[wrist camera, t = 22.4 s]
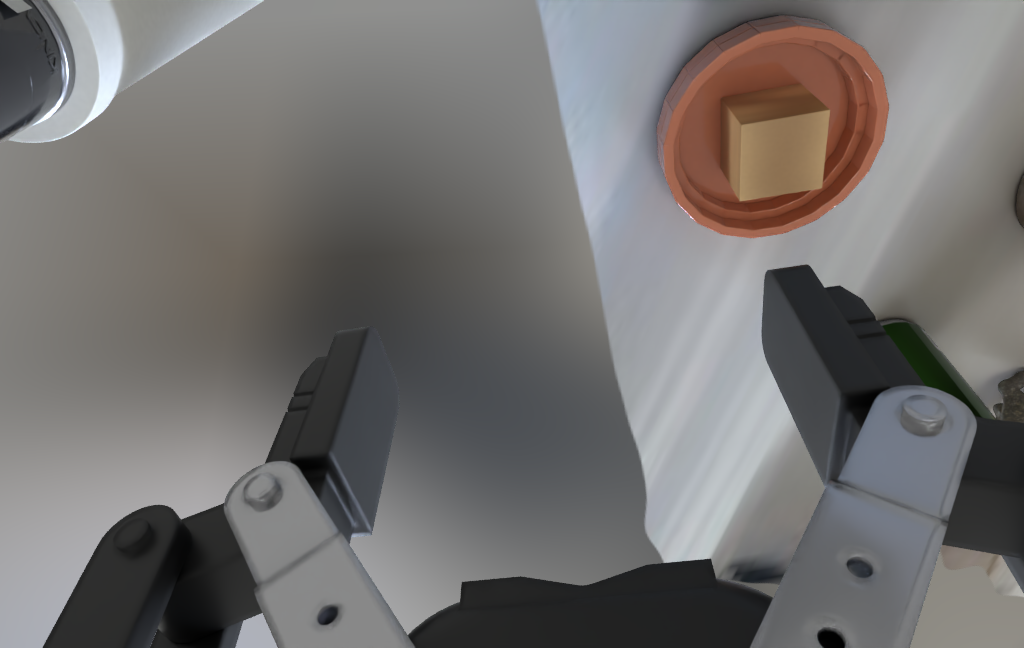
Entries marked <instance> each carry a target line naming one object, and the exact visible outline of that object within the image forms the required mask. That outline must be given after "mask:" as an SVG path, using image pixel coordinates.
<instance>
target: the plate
mask: <svg viewBox="0 0 1024 648" xmlns="http://www.w3.org/2000/svg"><path fill="white" fill-rule="evenodd" d="M800 83H801V84H802V85H803V86H804V87H805V88H807V89H808V90H809V91H810V92H811V93H812V94H813V95H814V96H815V97H817V98H818V99H819V100H820V101H821V102H822V103H823V104H824V105H825V106H827V107H828V108H829V109H830V116H829V126H828V136H827V145H826V155H825V164H824V174H823V184H822V188H821V189H815V190H808V191H802V192H796V193H789V194H783V195H777V196H770V197H764V198H758V199H752V200H745V201H739V199H738V197H737V196H736V194H735V192H734V191H733V189H732V187H731V186H730V184H729V182H728V180H727V179H726V177H725V175H724V174H723V172H722V170H721V98H722V97H727V96H733V95H738V94H744V93H749V92H755V91H761V90H766V89H772V88H777V87H783V86H789V85H794V84H800ZM888 111H889V103H888V98H887V93H886V88H885V83H884V78H883V75H882V73H881V71H880V70H879V68H878V67H877V65H876V64H875V63H874V61H873V60H872V58H871V57H870V55H869V54H868V53H867V51H866V50H865V48H863V47H862V46H861V45H859V44H857V43H856V42H854V41H853V40H851V39H849V38H848V37H846V36H845V35H843V34H841V33H840V32H838V31H836V30H834V29H833V28H831V27H829V26H828V25H826V24H824V23H823V22H821V21H819V20H815V19H808V18H801V17H795V16H788V15H780V16H775V17H770V18H765V19H759V20H754V21H749V22H747V23H744V24H742V25H740V26H738V27H737V28H735V29H733V30H731V31H729V32H727V33H725V34H723V35H721V36H719V37H717V38H715V39H714V40H712V41H711V42H709V43H708V44H707V45H706V46H705V47H704V48H703V49H702V50H701V51H700V52H699V53H698V54H697V55H696V56H694V57H693V58H692V59H691V60H690V61H689V62H688V63H687V64H686V65H685V67H683V69H682V70H681V72H680V74H679V75H678V77H677V79H676V80H675V82H674V83H673V85H672V87H671V88H670V90H669V92H668V93H667V95H666V98H665V99H664V103H663V107H662V111H661V114H660V118H659V122H658V126H657V148H658V160H659V163H660V166H661V168H662V171H663V173H664V175H665V178H666V180H667V182H668V185H669V187H670V189H671V192H672V194H673V196H674V199H675V201H676V202H677V204H678V205H679V206H680V207H681V208H682V209H683V210H684V211H685V212H686V213H687V214H688V215H689V216H690V217H691V218H692V219H693V220H694V221H695V222H697V223H698V224H701V225H703V226H705V227H707V228H709V229H711V230H713V231H716V232H718V233H720V234H723V235H730V236H738V237H746V238H757V237H764V236H771V235H777V234H783V233H786V232H789V231H791V230H794V229H796V228H799V227H801V226H803V225H806V224H808V223H811V222H813V221H815V220H817V219H818V218H820V217H821V216H822V215H824V214H825V213H827V212H828V211H829V210H831V209H832V208H834V207H835V206H836V205H838V204H839V203H840V202H842V201H843V200H844V199H845V198H846V197H847V196H848V195H849V194H850V193H851V192H852V190H853V189H854V188H855V187H856V186H857V185H858V183H859V182H860V181H861V180H862V179H863V178H864V176H865V175H866V174H867V173H868V172H869V170H870V168H871V166H872V164H873V162H874V159H875V157H876V155H877V153H878V151H879V149H880V147H881V145H882V143H883V140H884V136H885V130H886V123H887V117H888Z"/></svg>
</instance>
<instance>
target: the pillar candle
mask: <svg viewBox="0 0 1024 648" xmlns="http://www.w3.org/2000/svg"><path fill="white" fill-rule="evenodd" d="M1016 212H1017V217H1018V220H1019V222H1020V224H1021V225H1022V226H1023V227H1024V175H1023V177H1022V180H1021V182H1020V187H1019V188H1018V193H1017V204H1016Z"/></svg>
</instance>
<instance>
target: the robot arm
mask: <svg viewBox="0 0 1024 648" xmlns="http://www.w3.org/2000/svg"><path fill="white" fill-rule="evenodd" d="M75 75H76V69H75V59H74V54H73V49H72V46H71V43H70V40H69V37H68V35H67V33H66V30H65V28H64V26H63V24H62V22H61V21H60V19H59V17H58V16H57V14H56V12H55V11H54V9H53V8H52V6H51V5H50V4H49V2H48V1H47V0H0V143H2V142H4V141H5V140H7V139H9V138H11V137H13V136H14V135H16V134H18V133H19V132H21V131H23V130H25V129H26V128H28V127H30V126H32V125H35V124H38V123H40V122H42V121H44V120H46V119H47V118H49V117H51V116H52V115H54V114H56V113H57V112H58V111H59V110H61V109H62V107H63V106H64V105H65V104H66V103H67V101H68V100H69V98H70V96H71V94H72V91H73V88H74V83H75ZM762 344H763V350H764V354H765V358H766V360H767V363H768V365H769V367H770V370H771V372H772V374H773V376H774V378H775V380H776V382H777V385H778V387H779V389H780V391H781V393H782V395H783V398H784V400H785V402H786V404H787V406H788V408H789V411H790V413H791V415H792V417H793V419H794V421H795V423H796V426H797V428H798V430H799V432H800V434H801V436H802V439H803V441H804V443H805V445H806V447H807V449H808V452H809V454H810V456H811V458H812V460H813V462H814V464H815V467H816V469H817V471H818V473H819V475H820V477H821V480H822V482H823V484H824V486H825V490H824V492H823V494H822V497H821V499H820V501H819V503H818V505H817V507H816V509H815V511H814V513H813V516H812V518H811V520H810V522H809V524H808V526H807V528H806V530H805V532H804V534H803V537H802V539H801V541H800V543H799V545H798V547H797V549H796V551H795V553H794V555H793V558H792V560H791V562H790V564H789V566H788V568H787V570H786V572H785V574H784V577H783V579H782V581H781V583H780V585H779V587H778V589H777V591H776V593H775V596H774V598H772V597H770V596H768V595H766V594H765V593H763V592H761V591H759V590H756V589H753V588H751V587H748V586H746V585H743V584H739V583H736V582H732V581H728V580H723V579H717V578H716V577H715V573H714V569H713V565H712V561H711V559H703V560H693V561H682V562H671V563H661V564H651V565H645V566H643V567H639V568H637V569H634V570H631V571H628V572H625V573H622V574H619V575H616V576H613V577H611V578H608V579H605V580H602V581H599V582H596V583H593V584H590V585H584V586H579V585H572V584H566V583H559V582H553V581H546V580H540V579H533V578H527V577H511V578H500V579H490V580H479V581H468V582H462V587H461V599H460V602H459V603H456V604H453V605H451V606H449V607H447V608H445V609H443V610H441V611H439V612H437V613H436V614H434V615H432V616H431V617H429V618H428V619H426V620H425V621H424V622H422V623H421V624H420V625H419V626H417V627H416V628H415V629H414V630H413V631H412V632H411V633H410V634H409V635H407V634H406V632H405V631H404V629H403V627H402V626H401V625H400V623H399V621H398V620H397V618H396V617H395V615H394V614H393V612H392V610H391V609H390V607H389V606H388V604H387V603H386V601H385V600H384V598H383V597H382V595H381V593H380V592H379V590H378V589H377V587H376V586H375V584H374V582H373V581H372V579H371V578H370V576H369V575H368V573H367V572H366V570H365V569H364V567H363V565H362V564H361V562H360V561H359V559H358V557H357V556H356V554H355V553H354V551H353V550H352V548H351V547H350V545H349V544H350V540H351V537H358V536H369V535H372V531H373V526H374V521H375V516H376V512H377V507H378V503H379V498H380V494H381V489H382V484H383V480H384V475H385V470H386V466H387V461H388V456H389V452H390V447H391V443H392V438H393V433H394V429H395V424H396V420H397V415H398V410H399V389H398V384H397V381H396V378H395V375H394V373H393V370H392V367H391V365H390V362H389V360H388V357H387V355H386V352H385V349H384V347H383V344H382V342H381V339H380V337H379V334H378V332H377V330H376V329H375V328H374V327H364V328H357V329H350V330H343V331H338V332H337V333H336V334H335V337H334V339H333V342H332V345H331V347H330V350H329V353H328V356H326V357H319V358H316V359H315V361H314V362H313V363H312V364H311V365H310V366H309V367H308V368H307V369H306V370H305V371H304V373H303V374H302V375H301V377H300V379H299V382H298V384H297V386H296V389H295V391H294V397H292V399H291V401H290V403H289V406H288V412H286V414H285V416H284V418H283V421H282V423H281V425H280V428H279V430H278V433H277V435H276V438H275V440H274V443H273V445H272V447H271V450H270V452H269V455H268V458H267V460H266V462H265V464H263V465H260V466H258V467H256V468H254V469H252V470H251V471H249V472H247V473H246V474H245V475H243V476H242V477H241V478H240V479H239V480H238V481H237V482H236V483H235V484H234V485H233V487H232V488H231V489H230V491H229V492H228V494H227V496H226V499H225V503H223V504H221V505H218V506H216V507H213V508H211V509H208V510H206V511H203V512H200V513H197V514H195V515H192V516H190V517H187V518H184V519H182V520H181V519H180V518H179V516H178V515H177V514H176V513H175V511H174V510H173V509H171V508H170V507H168V506H165V505H153V506H148V507H144V508H142V509H139V510H137V511H135V512H132V513H131V514H129V515H127V516H126V517H124V518H123V519H121V520H120V521H119V522H117V523H116V524H115V525H114V526H113V527H112V528H111V529H110V530H109V531H108V532H107V533H106V534H105V535H104V537H103V538H102V539H101V541H100V543H99V544H98V546H97V548H96V549H95V551H94V553H93V555H92V557H91V559H90V561H89V563H88V564H87V566H86V568H85V570H84V572H83V574H82V575H81V577H80V579H79V581H78V583H77V585H76V587H75V589H74V590H73V592H72V594H71V596H70V598H69V600H68V601H67V604H66V605H65V607H64V609H63V611H62V613H61V614H60V616H59V618H58V620H57V622H56V624H55V626H54V627H53V629H52V631H51V633H50V635H49V637H48V639H47V640H46V642H45V644H44V646H43V648H235V646H236V643H237V640H238V636H239V633H240V630H241V626H242V623H243V620H246V619H248V618H251V617H253V616H256V615H258V614H261V613H263V615H264V617H265V619H266V622H267V624H268V626H269V628H270V630H271V633H272V635H273V638H274V640H275V642H276V644H277V647H278V648H910V645H911V642H912V638H913V635H914V632H915V629H916V626H917V622H918V619H919V616H920V613H921V610H922V606H923V603H924V600H925V597H926V593H927V590H928V587H929V584H930V581H931V577H932V574H933V571H934V568H935V565H936V561H937V558H938V555H939V552H940V548H941V545H947V546H953V547H959V548H964V549H970V550H976V551H982V552H987V553H993V554H999V555H1002V557H1003V559H1004V560H1005V562H1006V564H1007V566H1008V567H1009V569H1010V571H1011V572H1012V574H1013V576H1014V577H1015V579H1016V581H1017V583H1018V584H1019V586H1020V588H1021V589H1022V591H1023V593H1024V423H1021V422H1012V421H1003V420H994V419H987V418H982V417H977V416H974V414H973V413H972V411H971V410H970V409H969V408H968V407H967V406H966V405H965V404H964V403H963V402H962V401H960V400H959V399H957V398H956V397H954V396H952V395H950V394H948V393H946V392H944V391H941V390H938V389H935V388H931V387H926V386H925V384H924V383H923V381H922V380H921V379H920V377H919V376H918V375H917V373H916V372H915V371H914V369H913V368H912V366H911V365H910V364H909V362H908V361H907V360H906V358H905V357H904V355H903V354H902V353H901V351H900V350H899V349H898V347H897V346H896V345H895V343H894V342H893V340H892V339H891V338H890V336H889V335H886V331H885V330H884V328H883V327H882V325H881V324H880V323H879V321H876V319H875V316H874V314H873V313H872V312H871V310H870V309H869V308H868V306H867V305H866V304H865V302H864V301H863V299H861V298H859V297H858V296H856V295H854V294H853V293H851V292H849V291H848V290H846V289H845V288H843V287H841V286H834V287H827V288H824V286H823V285H822V283H821V282H820V280H819V279H818V277H817V276H816V274H815V273H814V271H813V270H812V268H811V267H810V266H809V265H800V266H793V267H786V268H779V269H772V270H768V271H767V272H766V274H765V279H764V296H763V315H762ZM157 628H158V629H157ZM155 633H156V634H155ZM153 638H154V639H153ZM151 643H152V644H151Z"/></svg>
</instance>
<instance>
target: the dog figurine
mask: <svg viewBox="0 0 1024 648" xmlns="http://www.w3.org/2000/svg"><path fill="white" fill-rule="evenodd" d="M1023 387H1024V371H1021V372H1018V373H1016V374H1015V375H1014V376H1012V377H1011V378H1009V379H1006V380H1003V381H1002V382H1000V383H999V384H998V389H999V391H1000V392H1001V394H1002V396H1003V404H1002V403H998V404H995V405H994V407H993V410H994V413H995V415H996V419H997V420H1003V421H1012V422H1021V423H1024V393H1023V392H1022V391H1021V390H1020V389H1022V388H1023Z"/></svg>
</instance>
